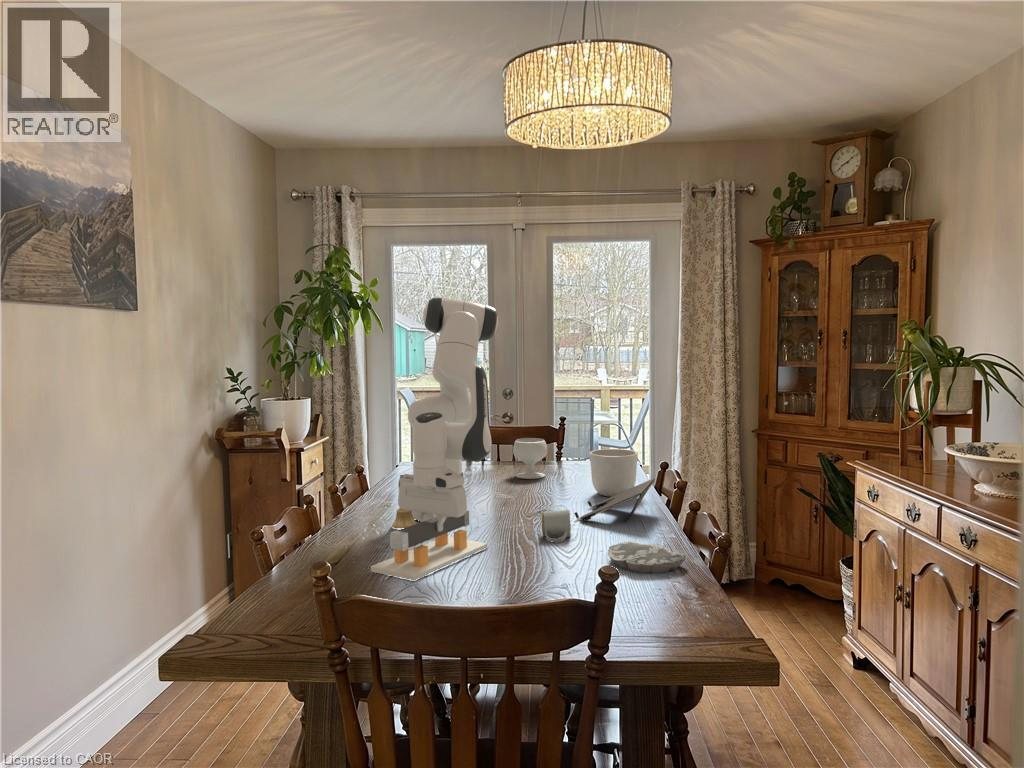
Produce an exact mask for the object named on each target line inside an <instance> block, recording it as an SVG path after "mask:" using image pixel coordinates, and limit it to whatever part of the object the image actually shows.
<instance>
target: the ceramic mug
mask: <svg viewBox="0 0 1024 768" xmlns="http://www.w3.org/2000/svg"><path fill="white" fill-rule="evenodd" d="M571 526H572V525H571V513H570V509H561V510H560V509H559V510H548V511H544V512H542V513H541V532H542V535H543V537H545V536H546V537H545V539H546V540H547V541H548V542H549V541H553V542H560V543H562V542H564V541H565V539H566V538H571V533H572V530H571V529H572V527H571Z"/></svg>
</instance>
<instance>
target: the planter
mask: <svg viewBox="0 0 1024 768" xmlns="http://www.w3.org/2000/svg"><path fill="white" fill-rule="evenodd" d="M638 455H639V454H638V452H637V451H636V450H632V449H625V448H603V449H602V448H601V449H599V448H598V449H594V450H591V451H590V452H589V463H590V473H591V484H592V486H593V488H594V490H595V491H596V493H598V494H600V495H601V496H605V497H608V496H610V497H612V496H615V495H617V494H619V493H621V492H623V491H626V490H628V489H630V488H633V487H635V486H636V481H637V470H638ZM610 497H609V498H610Z"/></svg>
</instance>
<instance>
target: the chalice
mask: <svg viewBox="0 0 1024 768" xmlns="http://www.w3.org/2000/svg"><path fill="white" fill-rule="evenodd" d="M512 454H513V455H514V457H515V458H516V459H518V460H520V461H521V462H523V463H524V464H526V465H527V468H528V469H527V471H526V472H521V473H517V474H515V477H516V478H517V479H524V480H525V479H526V480H535V479H541V478H545V477H546V474H545V473H543V472H535V471H534V469H533V468H534V465H535V464H536V463H537V462H539V461H541V460H542V459H544V458H545V457H546V456H547V454H548V445H547V442H546V440H545V439H544V438H540V437H539V438H538V437H523V438H518V439H516V440H515V441H514V444H513V446H512Z"/></svg>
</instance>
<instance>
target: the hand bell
mask: <svg viewBox="0 0 1024 768" xmlns="http://www.w3.org/2000/svg"><path fill="white" fill-rule="evenodd" d="M403 475H404V474H400V475H399V478H398V479H399V480H398V488H399V487H400V478H401V477H402V476H403ZM403 478H404V477H403ZM415 524H418V522H417V521H415V520H414V519H413V516H412V511H411V510H404V509H400V507H399V508H398V509H396V515H395V519H394V521H393V523H391V525H392V527H394V528H406V527H409V526H412V525H415Z"/></svg>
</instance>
